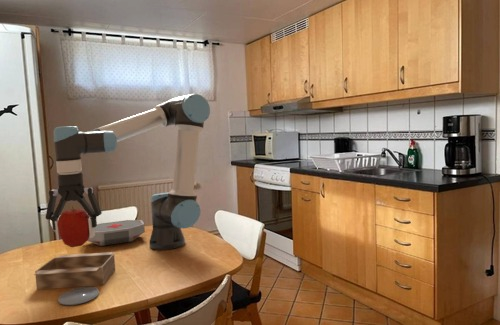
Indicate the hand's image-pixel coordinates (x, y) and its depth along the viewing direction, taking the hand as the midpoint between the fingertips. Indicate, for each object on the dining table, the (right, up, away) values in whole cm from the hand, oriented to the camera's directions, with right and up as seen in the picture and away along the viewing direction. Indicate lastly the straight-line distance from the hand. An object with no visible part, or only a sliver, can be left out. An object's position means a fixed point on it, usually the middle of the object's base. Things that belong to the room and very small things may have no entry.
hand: (76, 237), depth 123 cm
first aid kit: (-3, -11, +45) cm, 46 cm away
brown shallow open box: (0, -14, +1) cm, 14 cm away
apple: (0, -3, 0) cm, 3 cm away
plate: (+7, -15, -14) cm, 22 cm away
